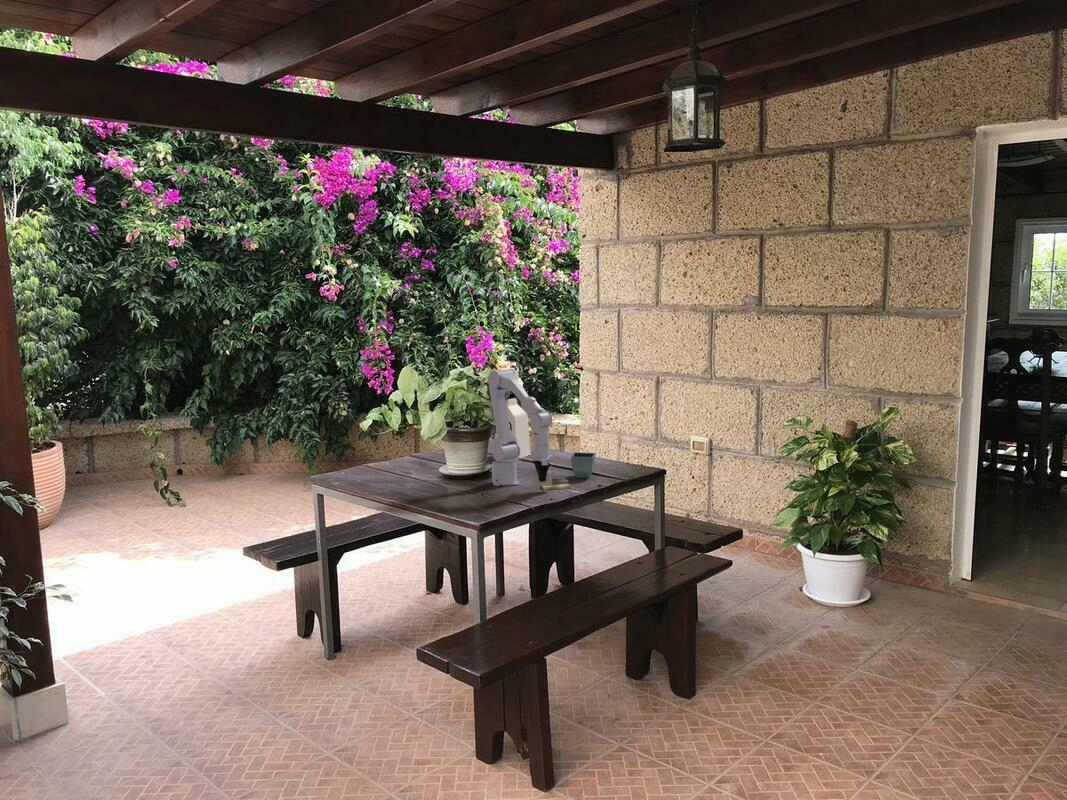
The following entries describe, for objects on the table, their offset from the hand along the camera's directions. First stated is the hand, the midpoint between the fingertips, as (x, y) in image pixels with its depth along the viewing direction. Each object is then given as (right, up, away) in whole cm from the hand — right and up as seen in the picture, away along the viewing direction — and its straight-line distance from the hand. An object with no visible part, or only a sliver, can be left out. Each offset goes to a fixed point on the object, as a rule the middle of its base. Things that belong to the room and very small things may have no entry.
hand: (541, 480), depth 319 cm
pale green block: (0, -2, 0) cm, 2 cm away
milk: (-12, +4, +67) cm, 69 cm away
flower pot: (+17, -1, +24) cm, 29 cm away
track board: (+5, -3, +10) cm, 11 cm away
